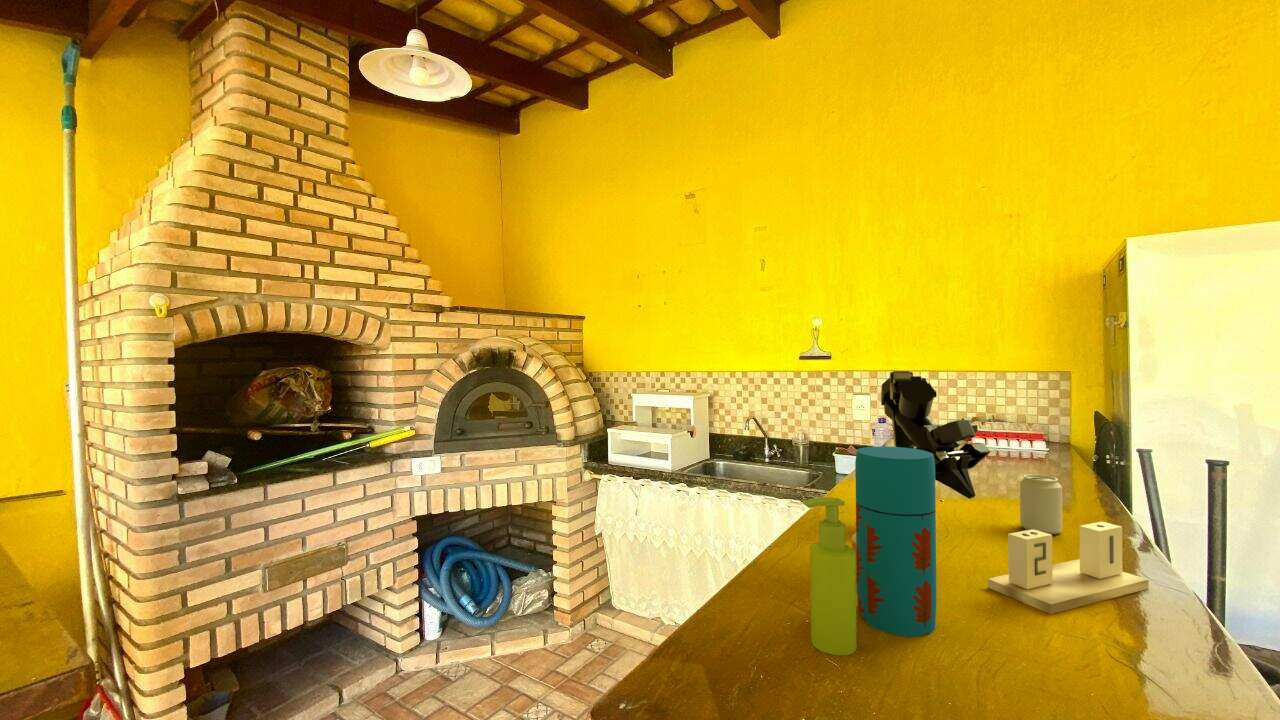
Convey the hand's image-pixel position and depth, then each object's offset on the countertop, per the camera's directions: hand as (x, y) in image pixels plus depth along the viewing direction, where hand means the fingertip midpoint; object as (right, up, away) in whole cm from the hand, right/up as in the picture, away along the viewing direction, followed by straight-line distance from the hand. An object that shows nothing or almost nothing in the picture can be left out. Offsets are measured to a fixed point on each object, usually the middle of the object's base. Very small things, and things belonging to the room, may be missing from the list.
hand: (972, 497), depth 97 cm
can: (+28, -13, +21) cm, 37 cm away
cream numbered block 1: (+18, -11, -6) cm, 22 cm away
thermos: (-22, -14, -17) cm, 32 cm away
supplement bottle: (-20, -14, -2) cm, 25 cm away
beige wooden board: (+11, -13, -8) cm, 19 cm away
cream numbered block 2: (+3, -12, -10) cm, 16 cm away
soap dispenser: (-35, -14, -24) cm, 45 cm away
